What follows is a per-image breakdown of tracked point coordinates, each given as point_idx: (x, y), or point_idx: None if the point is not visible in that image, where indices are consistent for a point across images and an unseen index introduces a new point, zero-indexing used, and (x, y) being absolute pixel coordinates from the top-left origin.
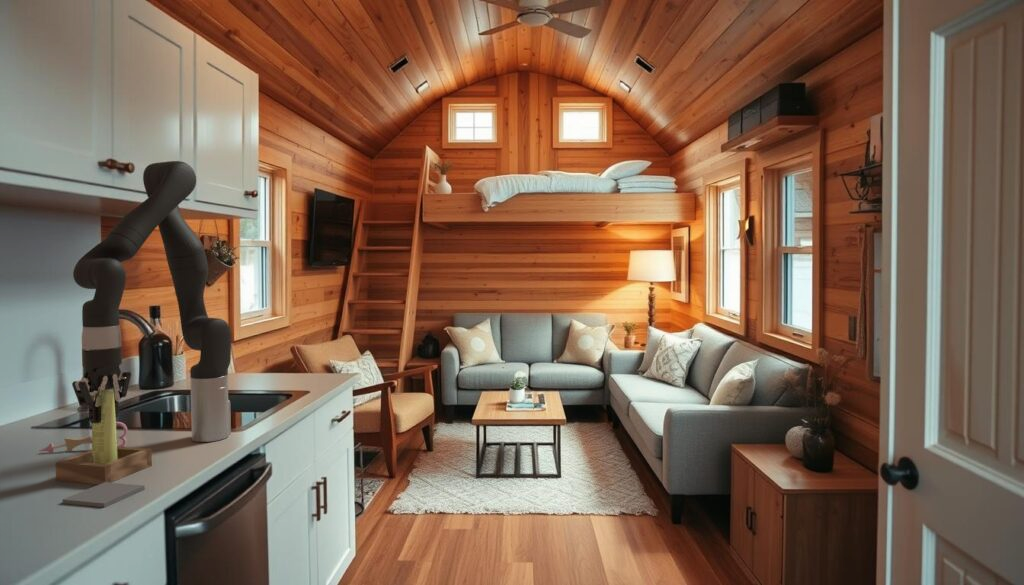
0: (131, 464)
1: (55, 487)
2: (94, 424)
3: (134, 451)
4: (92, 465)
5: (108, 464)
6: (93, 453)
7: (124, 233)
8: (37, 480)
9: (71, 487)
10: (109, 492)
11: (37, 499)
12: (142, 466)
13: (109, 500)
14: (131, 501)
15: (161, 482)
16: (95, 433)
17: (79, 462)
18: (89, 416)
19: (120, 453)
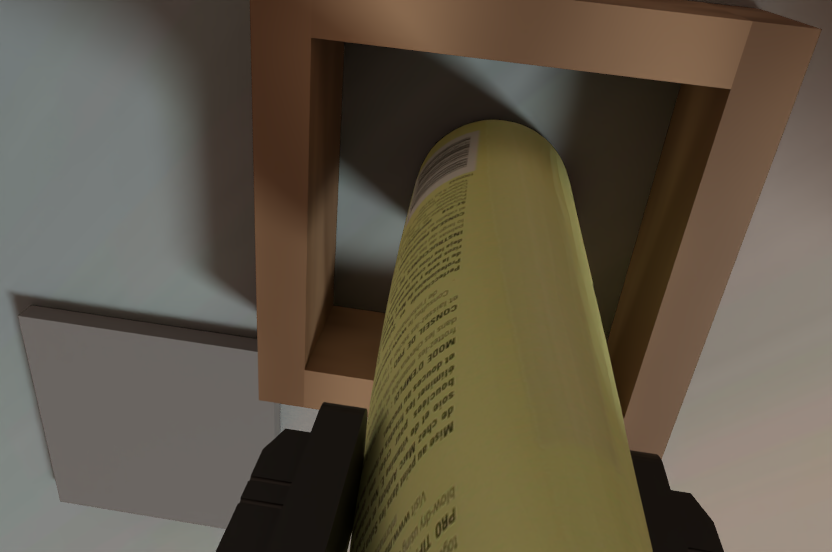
0: None
1: (187, 76)
2: (388, 382)
3: (638, 362)
4: (260, 315)
5: (298, 397)
6: (407, 224)
7: None
8: None
9: (214, 179)
10: (160, 455)
11: (13, 134)
12: None
13: (90, 502)
14: (154, 539)
15: None
16: (382, 343)
17: (296, 178)
18: (247, 487)
19: (668, 233)
